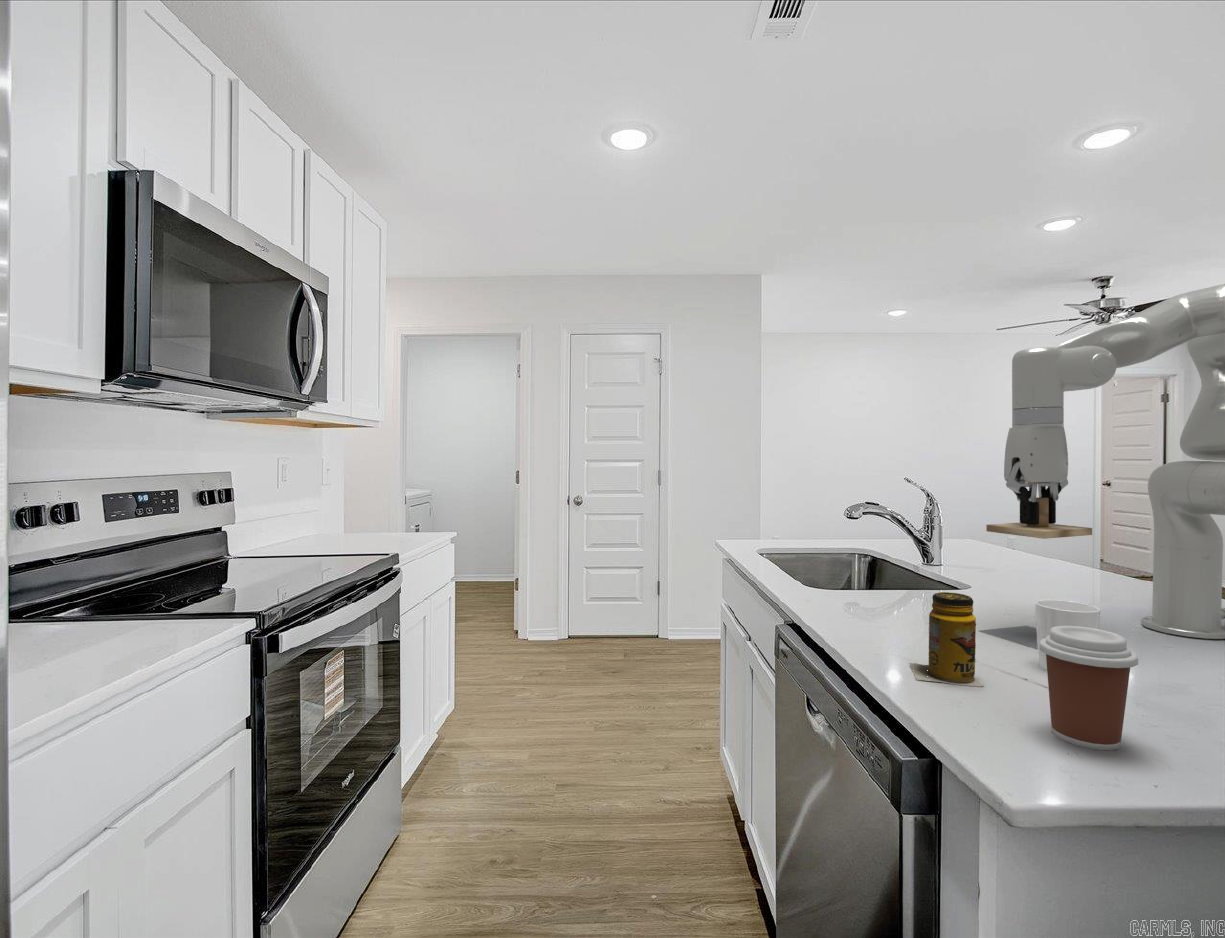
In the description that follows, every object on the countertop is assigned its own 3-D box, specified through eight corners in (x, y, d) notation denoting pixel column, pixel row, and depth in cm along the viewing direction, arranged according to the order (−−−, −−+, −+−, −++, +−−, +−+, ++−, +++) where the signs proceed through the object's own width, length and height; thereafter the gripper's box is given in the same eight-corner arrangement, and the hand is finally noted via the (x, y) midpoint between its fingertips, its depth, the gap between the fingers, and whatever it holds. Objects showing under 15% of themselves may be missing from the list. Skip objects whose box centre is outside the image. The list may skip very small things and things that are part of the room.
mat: (1026, 627, 119) (1026, 625, 119) (1092, 646, 107) (1092, 643, 107) (977, 632, 115) (977, 630, 115) (1039, 652, 103) (1040, 650, 103)
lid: (1031, 528, 118) (1031, 495, 117) (1092, 535, 107) (1092, 498, 107) (986, 531, 114) (986, 497, 114) (1044, 538, 104) (1044, 501, 104)
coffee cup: (1046, 746, 70) (1048, 639, 69) (1029, 715, 78) (1031, 619, 78) (1150, 763, 66) (1152, 649, 66) (1120, 728, 74) (1122, 628, 74)
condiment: (983, 687, 88) (984, 602, 87) (916, 681, 90) (917, 598, 90) (970, 670, 95) (972, 591, 94) (909, 665, 97) (910, 587, 97)
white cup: (1110, 682, 90) (1112, 613, 89) (1049, 678, 91) (1050, 610, 91) (1081, 665, 97) (1082, 600, 97) (1025, 661, 99) (1026, 598, 99)
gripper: (1051, 420, 116) (1051, 519, 117) (982, 420, 111) (983, 523, 112) (1093, 418, 109) (1093, 523, 110) (1021, 418, 104) (1022, 528, 105)
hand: (1037, 522), depth 111 cm, fingers closed on lid, 3 cm apart
